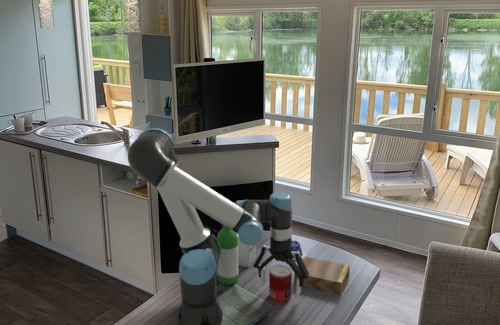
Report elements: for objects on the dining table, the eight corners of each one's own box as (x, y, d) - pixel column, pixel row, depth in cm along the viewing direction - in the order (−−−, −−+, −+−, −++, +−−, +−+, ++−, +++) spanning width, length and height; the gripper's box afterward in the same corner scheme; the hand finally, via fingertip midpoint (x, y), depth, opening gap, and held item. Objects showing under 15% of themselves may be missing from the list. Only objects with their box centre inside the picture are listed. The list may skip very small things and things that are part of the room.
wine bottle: (222, 273, 185) (219, 203, 176) (241, 276, 184) (239, 205, 174) (215, 284, 178) (212, 212, 169) (235, 287, 176) (233, 214, 167)
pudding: (303, 263, 192) (303, 252, 191) (275, 258, 196) (275, 247, 195) (310, 250, 203) (310, 239, 201) (283, 245, 207) (283, 234, 205)
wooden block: (294, 284, 178) (294, 271, 176) (304, 267, 189) (305, 255, 187) (341, 295, 171) (341, 282, 169) (349, 277, 182) (350, 265, 180)
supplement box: (249, 268, 189) (248, 240, 185) (232, 264, 192) (232, 236, 188) (256, 259, 195) (256, 232, 191) (240, 255, 199) (240, 228, 194)
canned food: (289, 303, 166) (290, 276, 163) (267, 301, 168) (267, 274, 164) (292, 291, 173) (292, 265, 170) (271, 289, 175) (271, 263, 171)
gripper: (318, 238, 161) (317, 291, 168) (252, 225, 171) (253, 276, 178) (312, 248, 155) (310, 303, 161) (243, 234, 164) (245, 287, 171)
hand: (280, 289), depth 170 cm, fingers open, 13 cm apart
